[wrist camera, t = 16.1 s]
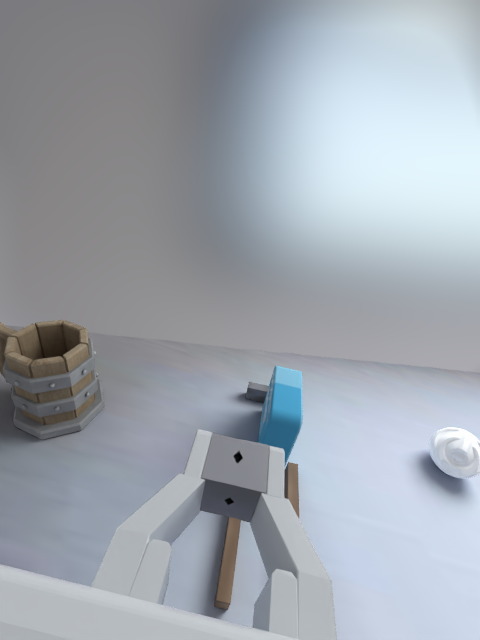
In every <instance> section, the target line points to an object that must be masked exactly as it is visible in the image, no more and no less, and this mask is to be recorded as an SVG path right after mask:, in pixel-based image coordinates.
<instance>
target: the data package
mask: <svg viewBox="0 0 480 640" xmlns="http://www.w3.org/2000/svg"><path fill="white" fill-rule="evenodd" d="M302 419H303V405H302V372H301V371H297V370H293V369H288V368H284V367H280V366H275V368H274V371H273V375H272V378H271V381H270V385H269V388H268V391H267V394H266V398H265V401H264V404H263V409H262V414H261V421H260V429H259V436H258V443H262V444H266V445H269V446H273V447H278V448H283V449H284V452H285V465H286V462H287V460H288V458H289V455H290V453H291V451H292V448H293V446H294V444H295V441H296V439H297V436H298V434H299V432H300V429H301V425H302Z"/></svg>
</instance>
